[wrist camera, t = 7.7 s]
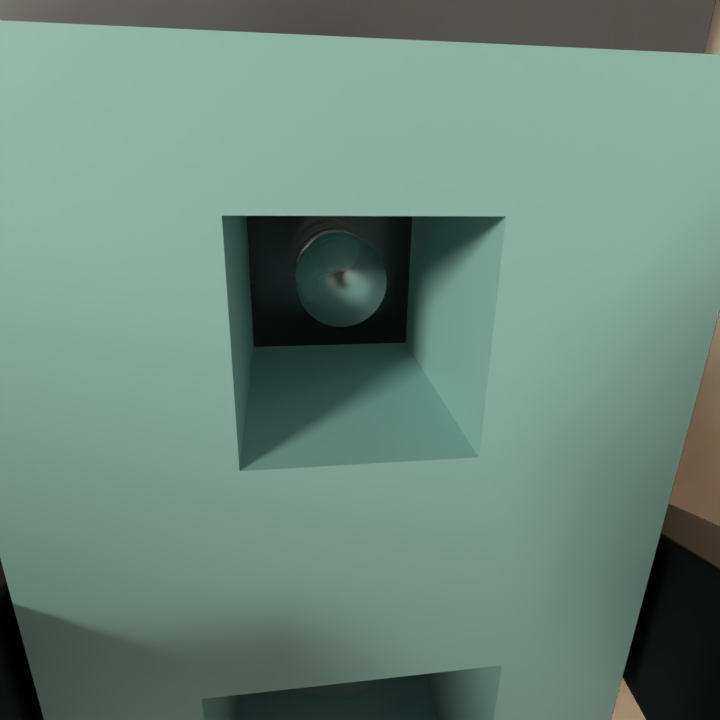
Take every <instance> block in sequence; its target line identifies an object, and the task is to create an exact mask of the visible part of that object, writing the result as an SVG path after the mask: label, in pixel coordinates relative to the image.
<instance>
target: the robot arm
mask: <svg viewBox="0 0 720 720" xmlns="http://www.w3.org/2000/svg"><path fill="white" fill-rule="evenodd" d="M622 677H623V678H624V680H625V682H626V684H627V686H628V687H629V689H630V691H631V693H632V695H633V696H634V698H635V700H636V702H637V704H638V705H639V707H640V709H641V711H642V713H643V714H644V716H645V718H646V720H720V526H718V525H716V524H714V523H711V522H709V521H707V520H705V519H702V518H700V517H698V516H696V515H693V514H691V513H689V512H687V511H684V510H682V509H680V508H677V507H675V506H673V505H671V504H668V507H667V511H666V515H665V518H664V522H663V526H662V530H661V533H660V537H659V541H658V545H657V549H656V552H655V556H654V560H653V564H652V567H651V571H650V575H649V579H648V582H647V586H646V590H645V594H644V597H643V601H642V605H641V609H640V612H639V616H638V620H637V624H636V627H635V631H634V635H633V639H632V643H631V646H630V650H629V654H628V658H627V661H626V665H625V669H624V673H623V676H622ZM0 720H44V718H43V714H42V711H41V707H40V703H39V699H38V696H37V692H36V688H35V685H34V681H33V677H32V674H31V670H30V666H29V662H28V659H27V655H26V651H25V648H24V644H23V640H22V637H21V633H20V629H19V626H18V622H17V618H16V614H15V611H14V607H13V603H12V600H11V596H10V592H9V589H8V585H7V581H6V578H5V574H4V570H3V566H2V563H1V559H0Z"/></svg>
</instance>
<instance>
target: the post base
mask: <svg viewBox="0 0 720 720" xmlns="http://www.w3.org/2000/svg"><path fill="white" fill-rule="evenodd" d="M715 1H716V0H0V20H3V21H24V22H46V23H67V24H88V25H109V26H130V27H151V28H172V29H193V30H214V31H235V32H256V33H277V34H299V35H320V36H341V37H362V38H383V39H404V40H425V41H446V42H467V43H488V44H509V45H530V46H551V47H572V48H594V49H615V50H636V51H657V52H678V53H699V54H704V52H705V47H706V42H707V38H708V33H709V29H710V24H711V19H712V15H713V10H714V6H715ZM411 232H412V216H247V233H248V251H249V270H250V289H251V307H252V326H253V345H254V347H274V346H309V345H345V344H380V343H406V327H407V308H408V289H409V270H410V251H411ZM388 679H389V678H385V679H376V680H367V681H358V682H349V683H340V684H331V685H323V686H314V687H305V688H296V690H298V691H300V692H302V693H304V694H307V695H310V696H314V697H319V698H330V699H335V698H346V697H351V696H355V695H359V694H362V693H365V692H367V691H369V690H372V689H374V688H375V687H377V686H379V685H381V684H382V683H383V682H385V681H386V680H388Z"/></svg>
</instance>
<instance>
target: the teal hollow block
mask: <svg viewBox="0 0 720 720" xmlns="http://www.w3.org/2000/svg"><path fill="white" fill-rule="evenodd" d="M247 216H412V232H411V251H410V270H409V289H408V308H407V327H406V343H380V344H345V345H309V346H274V347H254V345H253V326H252V307H251V289H250V270H249V251H248V233H247ZM719 312H720V54H699V53H678V52H657V51H636V50H615V49H594V48H572V47H551V46H530V45H509V44H488V43H467V42H446V41H425V40H404V39H383V38H362V37H341V36H320V35H299V34H277V33H256V32H235V31H214V30H193V29H172V28H151V27H130V26H109V25H88V24H67V23H46V22H24V21H3V20H0V559H1V563H2V566H3V570H4V574H5V578H6V581H7V585H8V589H9V592H10V596H11V600H12V603H13V607H14V611H15V614H16V618H17V622H18V626H19V629H20V633H21V637H22V640H23V644H24V648H25V651H26V655H27V659H28V662H29V666H30V670H31V674H32V677H33V681H34V685H35V688H36V692H37V696H38V699H39V703H40V707H41V711H42V714H43V718H44V720H611V718H612V714H613V710H614V706H615V703H616V699H617V695H618V691H619V688H620V684H621V680H622V676H623V673H624V669H625V665H626V661H627V658H628V654H629V650H630V646H631V643H632V639H633V635H634V631H635V627H636V624H637V620H638V616H639V612H640V609H641V605H642V601H643V597H644V594H645V590H646V586H647V582H648V579H649V575H650V571H651V567H652V564H653V560H654V556H655V552H656V549H657V545H658V541H659V537H660V533H661V530H662V526H663V522H664V518H665V515H666V511H667V507H668V503H669V500H670V496H671V492H672V488H673V485H674V481H675V477H676V473H677V470H678V466H679V462H680V458H681V454H682V451H683V447H684V443H685V439H686V436H687V432H688V428H689V424H690V421H691V417H692V413H693V409H694V406H695V402H696V398H697V394H698V391H699V387H700V383H701V379H702V376H703V372H704V368H705V364H706V360H707V357H708V353H709V349H710V345H711V342H712V338H713V334H714V330H715V327H716V323H717V319H718V315H719ZM385 678H389V679H388V680H386V681H385V682H383V683H382V684H381V685H379V686H377V687H375V688H374V689H372V690H369V691H367V692H365V693H362V694H359V695H355V696H351V697H346V698H335V699H330V698H319V697H314V696H310V695H307V694H304V693H302V692H300V691H298V690H296V688H305V687H314V686H323V685H331V684H340V683H349V682H358V681H367V680H376V679H385Z"/></svg>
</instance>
